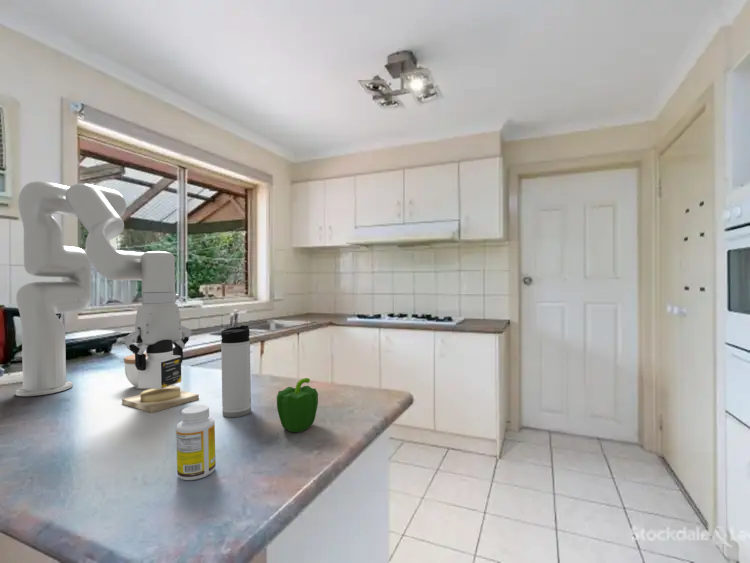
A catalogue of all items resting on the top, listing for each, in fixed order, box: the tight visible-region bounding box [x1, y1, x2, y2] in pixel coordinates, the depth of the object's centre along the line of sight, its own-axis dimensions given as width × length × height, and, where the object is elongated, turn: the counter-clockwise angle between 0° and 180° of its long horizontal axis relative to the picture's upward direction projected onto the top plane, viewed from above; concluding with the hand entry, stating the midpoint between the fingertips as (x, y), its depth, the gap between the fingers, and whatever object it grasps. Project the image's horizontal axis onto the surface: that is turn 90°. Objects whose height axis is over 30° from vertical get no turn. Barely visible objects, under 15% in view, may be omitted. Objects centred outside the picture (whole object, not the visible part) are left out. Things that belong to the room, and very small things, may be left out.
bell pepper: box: [276, 377, 319, 433], centre depth 79 cm, size 8×8×10 cm
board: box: [121, 385, 200, 414], centre depth 99 cm, size 14×12×3 cm
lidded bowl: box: [123, 352, 173, 390], centre depth 115 cm, size 13×13×11 cm
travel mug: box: [220, 324, 252, 418], centre depth 89 cm, size 6×7×20 cm
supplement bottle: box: [175, 404, 217, 481], centre depth 61 cm, size 6×6×10 cm
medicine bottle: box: [138, 339, 182, 390], centre depth 99 cm, size 7×7×12 cm
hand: (160, 366), depth 99 cm, fingers closed on medicine bottle, 8 cm apart
